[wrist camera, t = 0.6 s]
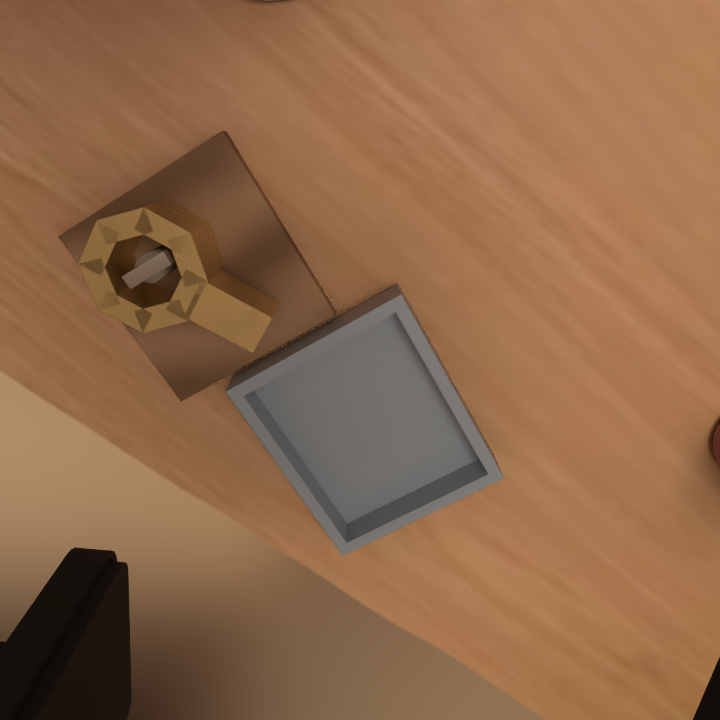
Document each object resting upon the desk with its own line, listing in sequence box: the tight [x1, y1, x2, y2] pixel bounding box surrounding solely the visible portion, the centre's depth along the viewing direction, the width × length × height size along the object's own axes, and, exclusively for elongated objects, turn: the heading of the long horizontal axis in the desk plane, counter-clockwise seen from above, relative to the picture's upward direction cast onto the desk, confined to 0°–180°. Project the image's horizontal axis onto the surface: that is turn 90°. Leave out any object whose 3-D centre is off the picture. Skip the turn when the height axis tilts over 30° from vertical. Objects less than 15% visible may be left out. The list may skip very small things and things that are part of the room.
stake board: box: [59, 131, 335, 401], centre depth 35 cm, size 13×12×5 cm
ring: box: [79, 200, 279, 353], centre depth 34 cm, size 10×6×4 cm, turn 60°
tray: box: [226, 283, 504, 556], centre depth 39 cm, size 15×13×3 cm
